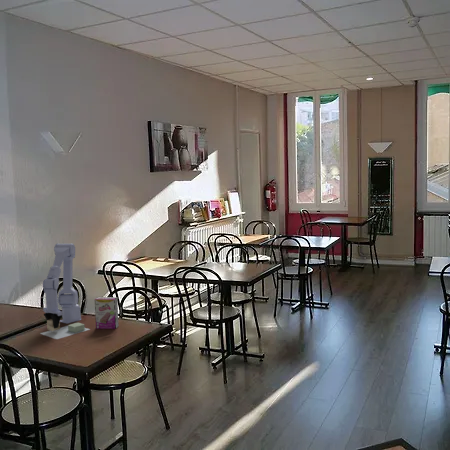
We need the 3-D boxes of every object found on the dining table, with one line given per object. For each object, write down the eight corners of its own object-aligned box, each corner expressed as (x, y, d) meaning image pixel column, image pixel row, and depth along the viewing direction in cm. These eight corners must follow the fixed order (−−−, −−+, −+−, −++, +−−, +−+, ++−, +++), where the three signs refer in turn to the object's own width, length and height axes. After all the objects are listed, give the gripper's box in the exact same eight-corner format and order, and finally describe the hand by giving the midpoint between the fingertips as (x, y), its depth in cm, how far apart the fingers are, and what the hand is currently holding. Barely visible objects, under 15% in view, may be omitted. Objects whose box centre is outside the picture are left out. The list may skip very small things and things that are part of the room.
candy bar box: (95, 329, 278) (93, 299, 276) (98, 326, 282) (97, 296, 281) (116, 329, 276) (114, 299, 275) (119, 326, 281) (117, 296, 280)
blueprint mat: (73, 324, 287) (73, 324, 287) (90, 330, 277) (90, 329, 277) (39, 334, 272) (39, 333, 272) (56, 340, 262) (56, 339, 262)
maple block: (55, 327, 276) (54, 318, 276) (59, 328, 273) (59, 319, 273) (47, 329, 273) (46, 320, 272) (52, 331, 270) (51, 321, 269)
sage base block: (78, 327, 280) (77, 322, 279) (84, 329, 276) (84, 324, 275) (68, 330, 275) (67, 325, 275) (74, 332, 271) (74, 327, 271)
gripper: (37, 300, 273) (39, 326, 275) (52, 305, 264) (54, 331, 265) (49, 298, 279) (51, 323, 280) (64, 302, 269) (66, 327, 271)
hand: (53, 326), depth 273 cm, fingers closed on maple block, 4 cm apart
